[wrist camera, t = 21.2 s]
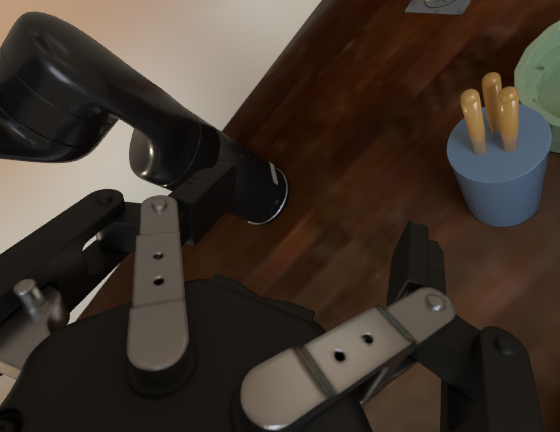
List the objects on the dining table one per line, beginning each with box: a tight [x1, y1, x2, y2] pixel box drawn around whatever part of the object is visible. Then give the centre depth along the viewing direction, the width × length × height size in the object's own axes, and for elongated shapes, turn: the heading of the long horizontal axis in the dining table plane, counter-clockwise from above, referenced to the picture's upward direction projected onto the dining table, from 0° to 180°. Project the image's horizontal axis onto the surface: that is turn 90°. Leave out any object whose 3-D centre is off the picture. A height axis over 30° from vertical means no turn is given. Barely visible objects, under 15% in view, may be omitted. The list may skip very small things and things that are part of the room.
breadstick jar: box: [447, 72, 552, 227], centre depth 24 cm, size 6×6×19 cm
